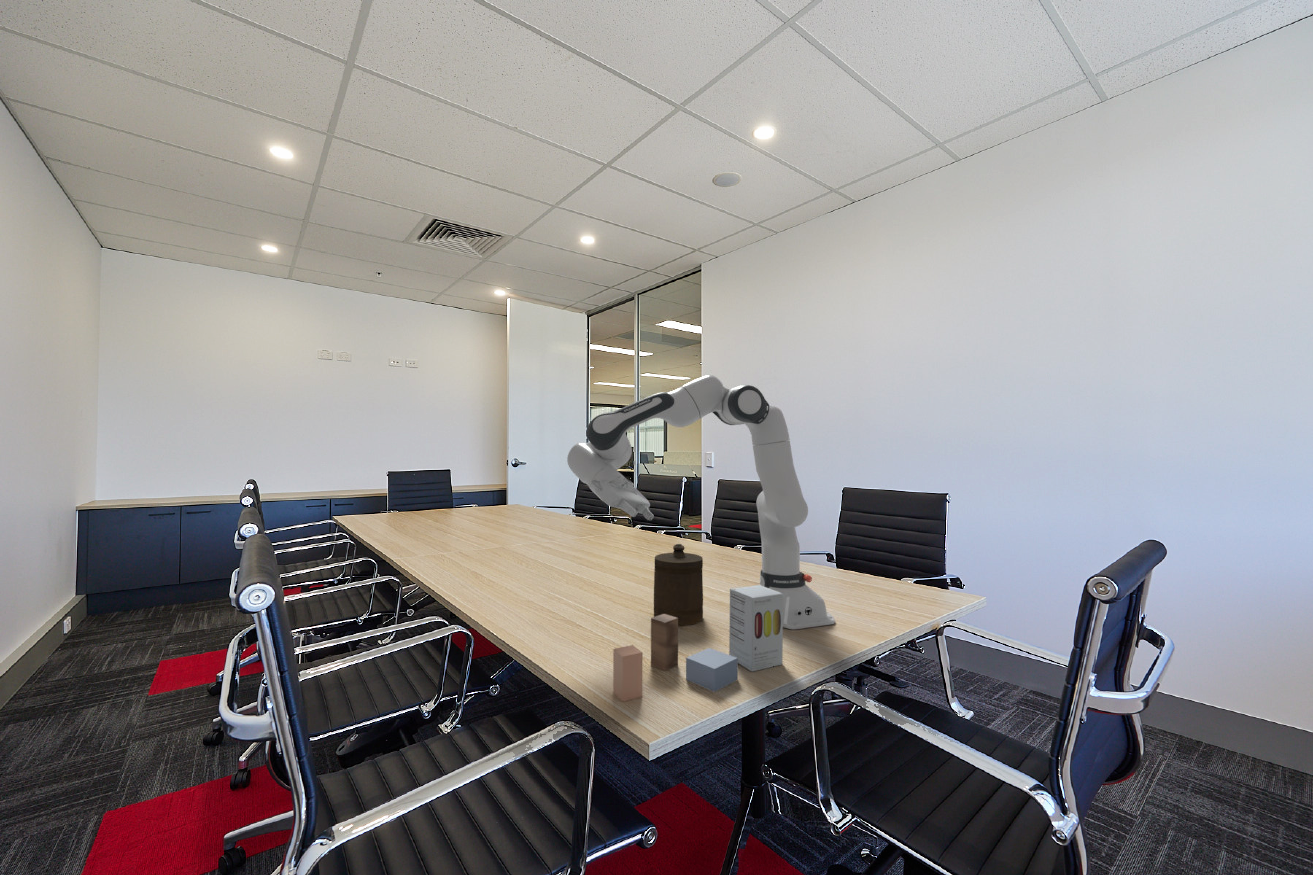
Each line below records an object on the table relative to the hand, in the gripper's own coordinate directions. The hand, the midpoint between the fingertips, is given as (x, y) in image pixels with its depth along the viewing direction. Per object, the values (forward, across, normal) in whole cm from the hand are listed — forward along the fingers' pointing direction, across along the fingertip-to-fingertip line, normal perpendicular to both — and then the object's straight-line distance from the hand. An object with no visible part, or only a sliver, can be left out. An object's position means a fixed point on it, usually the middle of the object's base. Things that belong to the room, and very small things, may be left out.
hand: (643, 516), depth 135 cm
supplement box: (+42, +9, +10) cm, 44 cm away
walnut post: (+28, -2, +22) cm, 36 cm away
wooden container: (+15, +30, +23) cm, 40 cm away
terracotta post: (+30, -18, +26) cm, 43 cm away
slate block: (+39, -4, +16) cm, 42 cm away
